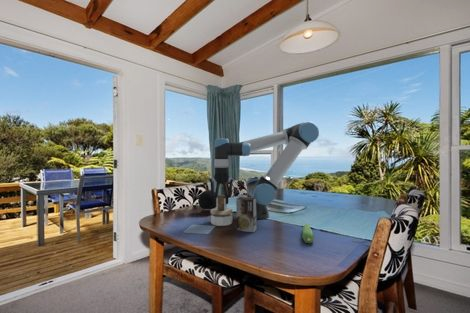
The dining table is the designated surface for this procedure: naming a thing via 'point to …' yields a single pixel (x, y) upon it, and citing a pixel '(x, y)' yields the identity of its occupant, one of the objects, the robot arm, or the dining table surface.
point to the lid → (221, 207)
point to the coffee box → (246, 214)
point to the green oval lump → (307, 234)
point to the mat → (199, 229)
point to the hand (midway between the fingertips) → (221, 209)
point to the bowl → (221, 219)
